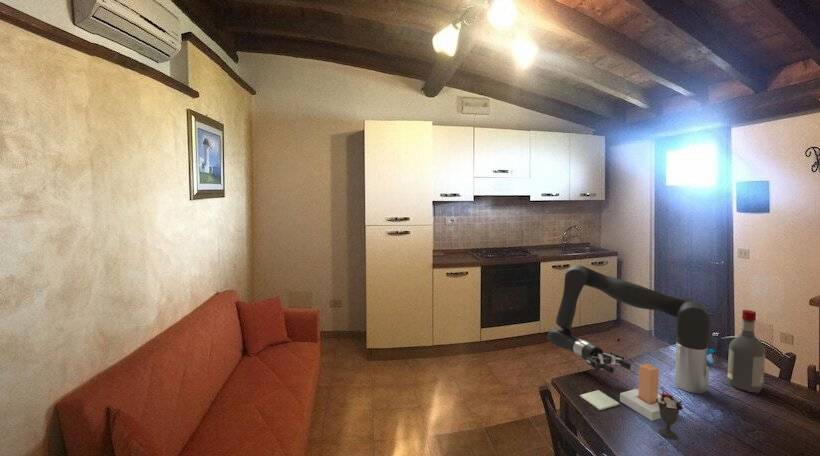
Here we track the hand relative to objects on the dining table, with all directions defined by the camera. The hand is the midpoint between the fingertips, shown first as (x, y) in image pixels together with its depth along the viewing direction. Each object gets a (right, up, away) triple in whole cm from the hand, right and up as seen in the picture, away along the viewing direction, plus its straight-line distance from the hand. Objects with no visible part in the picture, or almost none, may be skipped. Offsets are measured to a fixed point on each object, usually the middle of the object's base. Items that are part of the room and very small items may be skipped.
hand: (621, 368), depth 131 cm
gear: (+48, -6, +21) cm, 53 cm away
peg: (+4, -10, -9) cm, 14 cm away
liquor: (+49, -8, +1) cm, 49 cm away
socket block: (+4, -10, -9) cm, 14 cm away
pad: (-11, -10, -5) cm, 16 cm away
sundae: (0, -11, -23) cm, 25 cm away
